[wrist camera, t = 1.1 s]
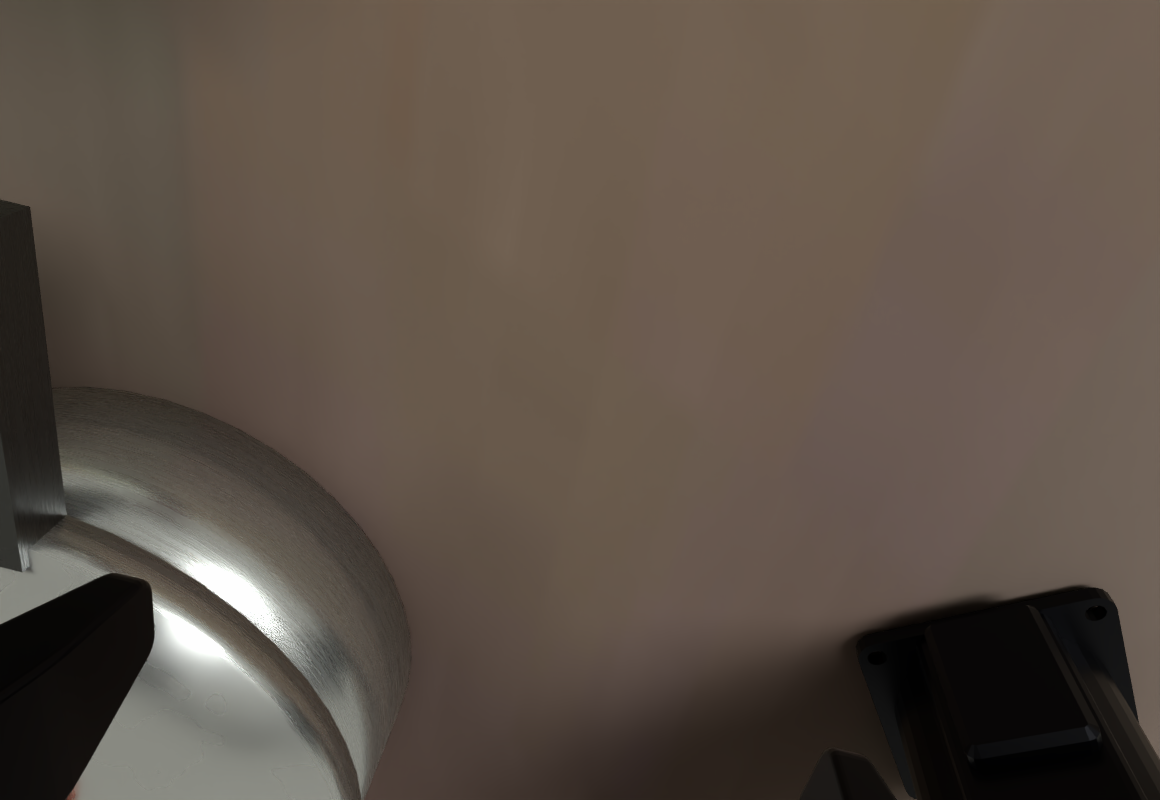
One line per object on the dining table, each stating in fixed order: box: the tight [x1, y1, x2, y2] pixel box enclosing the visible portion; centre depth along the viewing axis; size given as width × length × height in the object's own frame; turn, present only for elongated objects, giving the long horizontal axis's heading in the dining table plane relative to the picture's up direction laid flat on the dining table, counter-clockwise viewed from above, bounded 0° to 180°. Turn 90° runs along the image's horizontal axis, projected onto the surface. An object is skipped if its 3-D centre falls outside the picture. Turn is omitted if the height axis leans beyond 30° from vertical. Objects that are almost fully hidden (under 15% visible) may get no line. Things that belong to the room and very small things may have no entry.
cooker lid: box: [0, 200, 362, 800], centre depth 19 cm, size 23×17×2 cm
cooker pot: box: [52, 387, 411, 800], centre depth 23 cm, size 22×16×5 cm
